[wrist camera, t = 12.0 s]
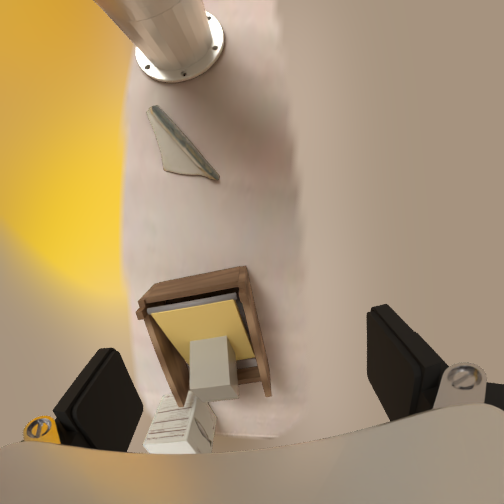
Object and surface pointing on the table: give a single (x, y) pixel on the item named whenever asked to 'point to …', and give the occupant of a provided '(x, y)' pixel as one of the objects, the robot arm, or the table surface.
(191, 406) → the supplement box
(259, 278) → the table surface
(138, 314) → the trapdoor frame
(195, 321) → the trapdoor
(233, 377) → the plain grey carton
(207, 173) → the ceramic fragment
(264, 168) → the table surface
